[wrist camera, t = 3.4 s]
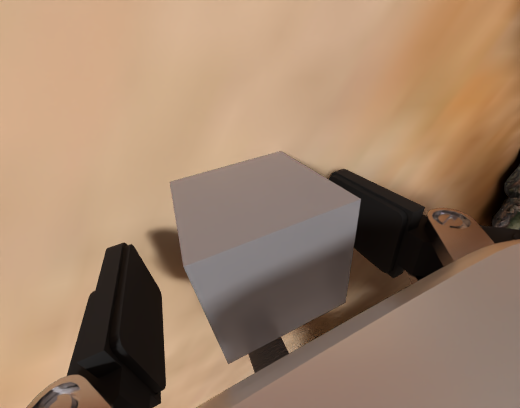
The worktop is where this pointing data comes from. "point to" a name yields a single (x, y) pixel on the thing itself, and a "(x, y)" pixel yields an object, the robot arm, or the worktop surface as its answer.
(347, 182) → the robot arm
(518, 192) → the decorative rock
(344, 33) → the worktop surface
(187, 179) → the grey cube
